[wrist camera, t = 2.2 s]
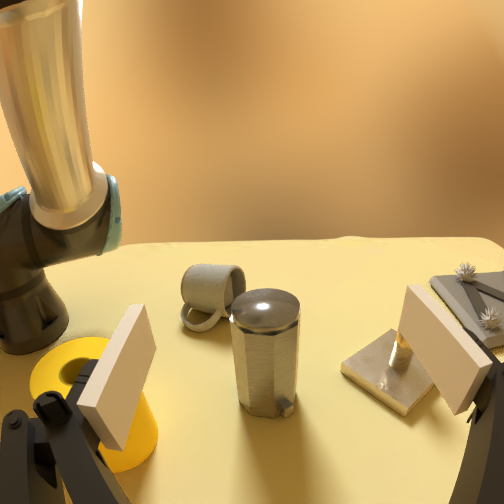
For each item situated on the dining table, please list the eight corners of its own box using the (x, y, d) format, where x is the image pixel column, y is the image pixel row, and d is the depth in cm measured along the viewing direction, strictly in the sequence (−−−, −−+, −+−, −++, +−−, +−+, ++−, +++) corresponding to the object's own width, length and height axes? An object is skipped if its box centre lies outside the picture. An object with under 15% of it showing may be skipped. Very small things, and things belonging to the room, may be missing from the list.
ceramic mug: (204, 293, 52) (199, 252, 49) (248, 301, 49) (245, 258, 46) (170, 327, 43) (159, 282, 40) (218, 340, 40) (211, 292, 37)
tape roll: (141, 484, 19) (99, 428, 16) (58, 454, 20) (11, 394, 17) (169, 408, 29) (147, 343, 25) (94, 393, 30) (65, 331, 26)
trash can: (227, 386, 32) (215, 296, 27) (270, 367, 35) (268, 279, 30) (264, 431, 26) (261, 340, 21) (310, 405, 28) (321, 312, 24)
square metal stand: (340, 371, 33) (351, 300, 29) (389, 337, 38) (403, 272, 34) (403, 417, 25) (434, 345, 21) (446, 370, 30) (472, 302, 26)
